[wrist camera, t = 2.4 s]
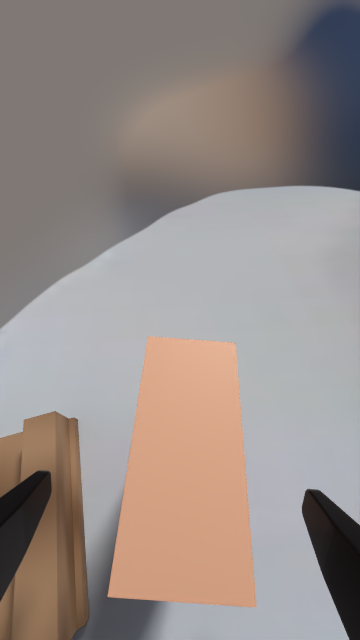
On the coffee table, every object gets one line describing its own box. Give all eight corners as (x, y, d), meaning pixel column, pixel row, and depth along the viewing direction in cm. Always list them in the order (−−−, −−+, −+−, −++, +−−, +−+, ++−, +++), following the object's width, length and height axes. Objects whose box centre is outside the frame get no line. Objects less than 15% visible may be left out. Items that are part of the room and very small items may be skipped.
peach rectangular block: (191, 509, 15) (256, 607, 4) (151, 506, 15) (107, 596, 4) (193, 424, 18) (235, 343, 7) (160, 421, 18) (147, 336, 7)
